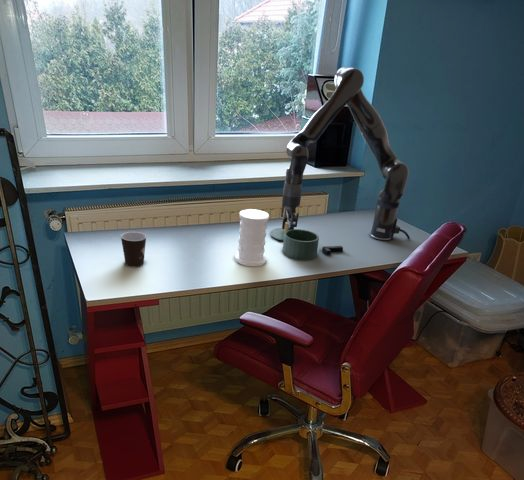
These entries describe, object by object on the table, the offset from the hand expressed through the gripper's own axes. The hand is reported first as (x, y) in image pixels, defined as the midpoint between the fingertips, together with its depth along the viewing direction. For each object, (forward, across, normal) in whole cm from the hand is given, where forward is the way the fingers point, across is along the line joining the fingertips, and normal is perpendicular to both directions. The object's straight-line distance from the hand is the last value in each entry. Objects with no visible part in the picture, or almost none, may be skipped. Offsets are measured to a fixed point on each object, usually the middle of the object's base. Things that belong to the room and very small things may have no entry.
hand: (287, 232), depth 226 cm
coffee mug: (+2, -21, +65) cm, 68 cm away
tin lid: (+1, 0, 0) cm, 1 cm away
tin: (+2, -18, +1) cm, 18 cm away
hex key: (+2, -18, -14) cm, 23 cm away
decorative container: (+2, -23, +23) cm, 33 cm away
